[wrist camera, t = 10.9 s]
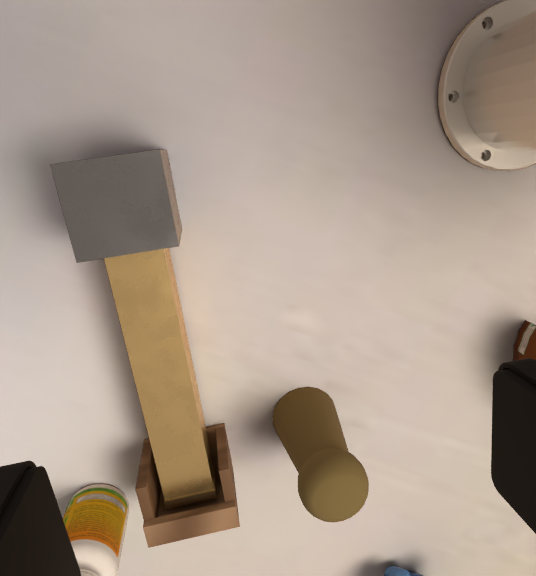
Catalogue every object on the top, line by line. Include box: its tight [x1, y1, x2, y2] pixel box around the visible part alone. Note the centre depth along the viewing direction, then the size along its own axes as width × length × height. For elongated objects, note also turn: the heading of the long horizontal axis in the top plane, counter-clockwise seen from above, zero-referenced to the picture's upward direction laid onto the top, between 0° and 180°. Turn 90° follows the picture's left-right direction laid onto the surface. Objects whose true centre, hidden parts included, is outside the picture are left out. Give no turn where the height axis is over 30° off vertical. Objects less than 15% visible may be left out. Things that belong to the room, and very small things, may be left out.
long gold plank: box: [104, 248, 217, 509], centre depth 35 cm, size 4×24×4 cm, turn 8°
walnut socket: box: [136, 423, 240, 547], centre depth 38 cm, size 7×5×7 cm
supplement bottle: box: [63, 484, 129, 576], centre depth 37 cm, size 5×5×10 cm
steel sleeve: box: [50, 149, 182, 263], centre depth 31 cm, size 6×6×7 cm
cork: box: [273, 387, 369, 522], centre depth 37 cm, size 6×6×11 cm
